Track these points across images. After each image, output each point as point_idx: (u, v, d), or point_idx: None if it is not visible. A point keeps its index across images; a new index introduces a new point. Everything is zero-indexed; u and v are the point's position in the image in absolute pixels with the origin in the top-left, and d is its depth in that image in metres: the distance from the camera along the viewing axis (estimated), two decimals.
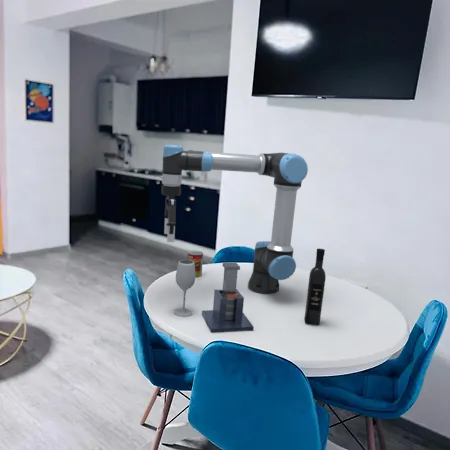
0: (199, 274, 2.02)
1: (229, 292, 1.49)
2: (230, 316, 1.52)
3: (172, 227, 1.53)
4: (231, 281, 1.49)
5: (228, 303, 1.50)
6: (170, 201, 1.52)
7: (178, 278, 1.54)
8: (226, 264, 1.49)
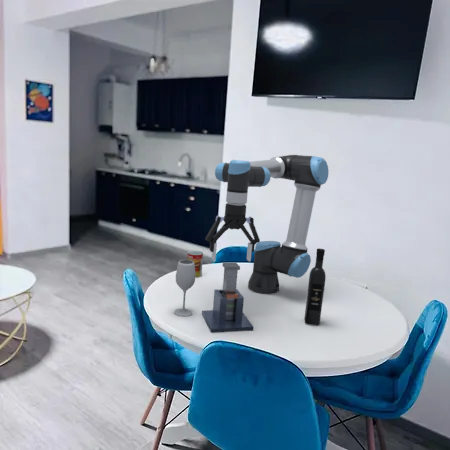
0: (199, 274, 2.02)
1: (229, 292, 1.49)
2: (230, 316, 1.52)
3: (210, 244, 1.45)
4: (231, 281, 1.49)
5: (228, 303, 1.50)
6: (216, 217, 1.45)
7: (178, 278, 1.54)
8: (226, 264, 1.49)
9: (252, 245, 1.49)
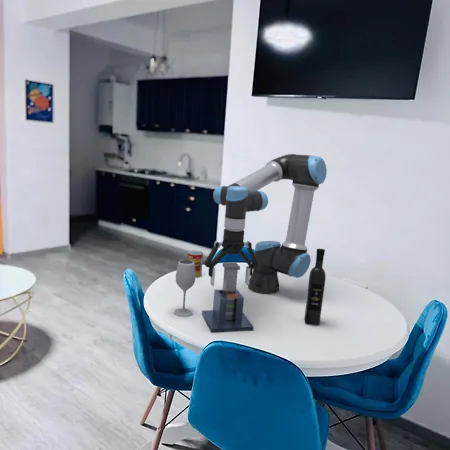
0: (199, 274, 2.02)
1: (229, 292, 1.49)
2: (230, 316, 1.52)
3: (209, 269, 1.47)
4: (231, 281, 1.49)
5: (228, 303, 1.50)
6: (214, 242, 1.47)
7: (178, 278, 1.54)
8: (226, 264, 1.49)
9: (250, 269, 1.51)
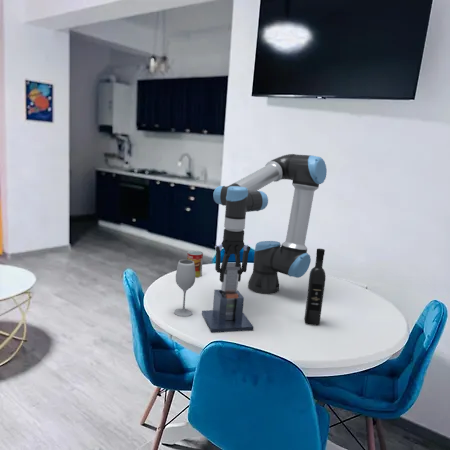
0: (199, 274, 2.02)
1: (229, 292, 1.49)
2: (230, 316, 1.52)
3: (220, 274, 1.49)
4: (231, 281, 1.49)
5: (228, 303, 1.50)
6: (215, 247, 1.47)
7: (178, 278, 1.54)
8: None
9: (238, 275, 1.50)
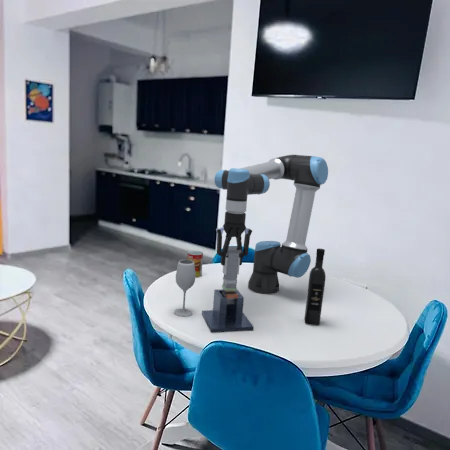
0: (199, 274, 2.02)
1: (231, 276, 1.48)
2: (231, 300, 1.50)
3: (221, 258, 1.48)
4: (232, 264, 1.47)
5: (229, 287, 1.49)
6: (216, 230, 1.46)
7: (178, 278, 1.54)
8: None
9: (240, 258, 1.49)
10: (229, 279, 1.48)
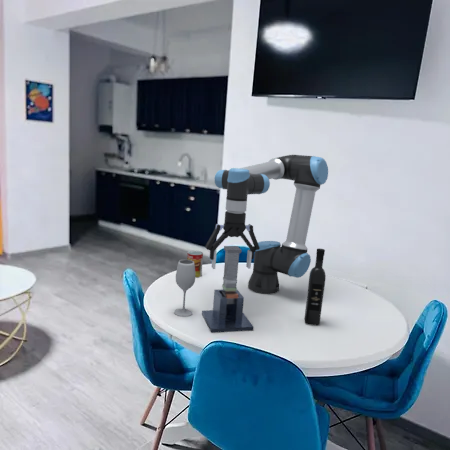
0: (199, 274, 2.02)
1: (231, 276, 1.48)
2: (231, 300, 1.50)
3: (210, 252, 1.46)
4: (232, 264, 1.47)
5: (229, 287, 1.49)
6: None
7: (178, 278, 1.54)
8: (227, 247, 1.48)
9: (252, 252, 1.50)
10: (229, 279, 1.48)
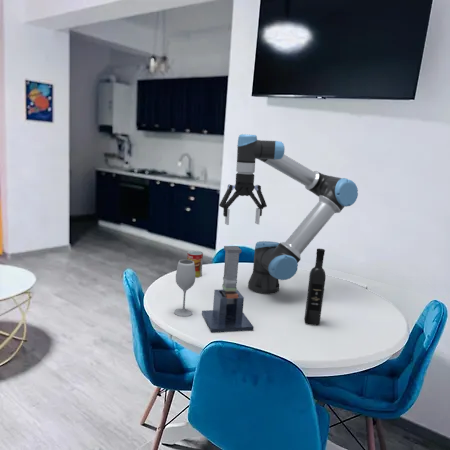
0: (199, 274, 2.02)
1: (231, 276, 1.48)
2: (231, 300, 1.50)
3: (224, 210, 1.64)
4: (232, 264, 1.47)
5: (229, 287, 1.49)
6: (228, 186, 1.64)
7: (178, 278, 1.54)
8: (227, 247, 1.48)
9: (260, 210, 1.69)
10: (229, 279, 1.48)
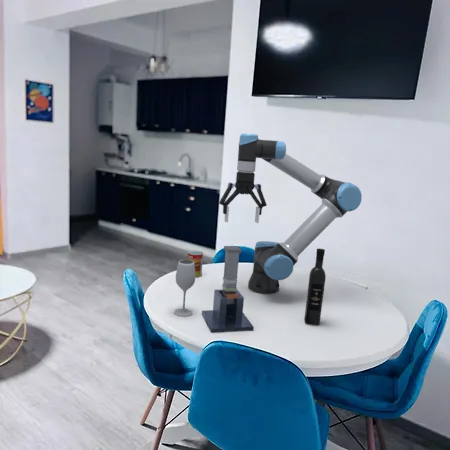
0: (199, 274, 2.02)
1: (231, 276, 1.48)
2: (231, 300, 1.50)
3: (223, 207, 1.67)
4: (232, 264, 1.47)
5: (229, 287, 1.49)
6: (228, 184, 1.66)
7: (178, 278, 1.54)
8: (227, 247, 1.48)
9: (260, 209, 1.71)
10: (229, 279, 1.48)
